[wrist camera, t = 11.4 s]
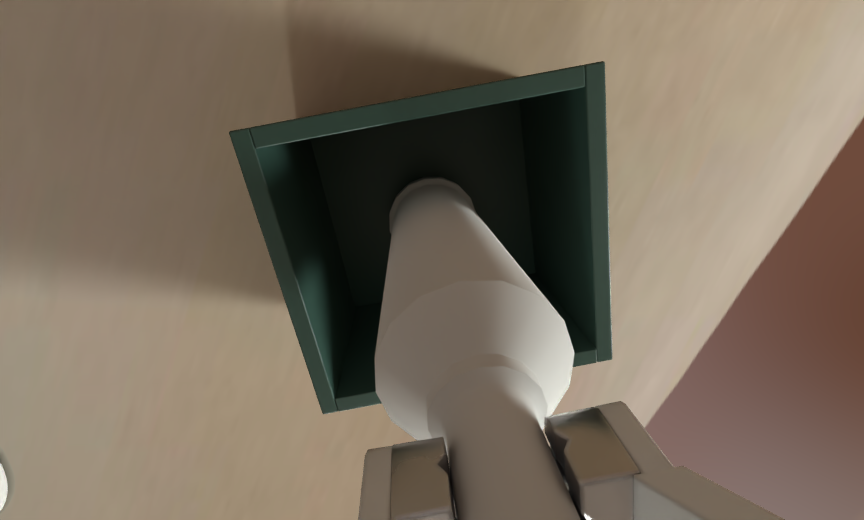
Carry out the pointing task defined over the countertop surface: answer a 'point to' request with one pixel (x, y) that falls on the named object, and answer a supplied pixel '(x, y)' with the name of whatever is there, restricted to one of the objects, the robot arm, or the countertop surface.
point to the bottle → (472, 356)
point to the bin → (434, 157)
